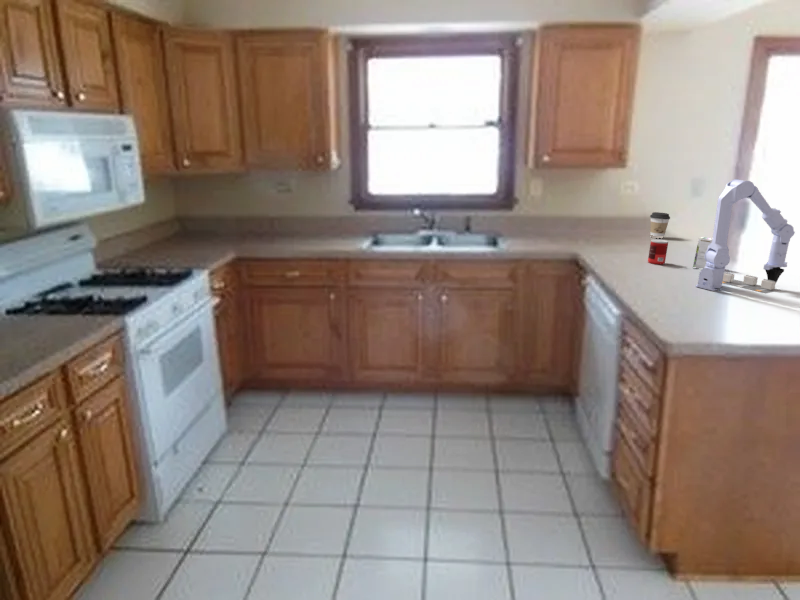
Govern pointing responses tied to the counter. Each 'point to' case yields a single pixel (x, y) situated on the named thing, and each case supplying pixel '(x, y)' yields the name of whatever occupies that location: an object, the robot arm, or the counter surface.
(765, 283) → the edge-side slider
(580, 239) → the counter surface
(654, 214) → the coffee cup
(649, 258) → the canned food
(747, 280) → the middle slider
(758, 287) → the switch panel
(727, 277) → the block
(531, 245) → the counter surface
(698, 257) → the syrup box
